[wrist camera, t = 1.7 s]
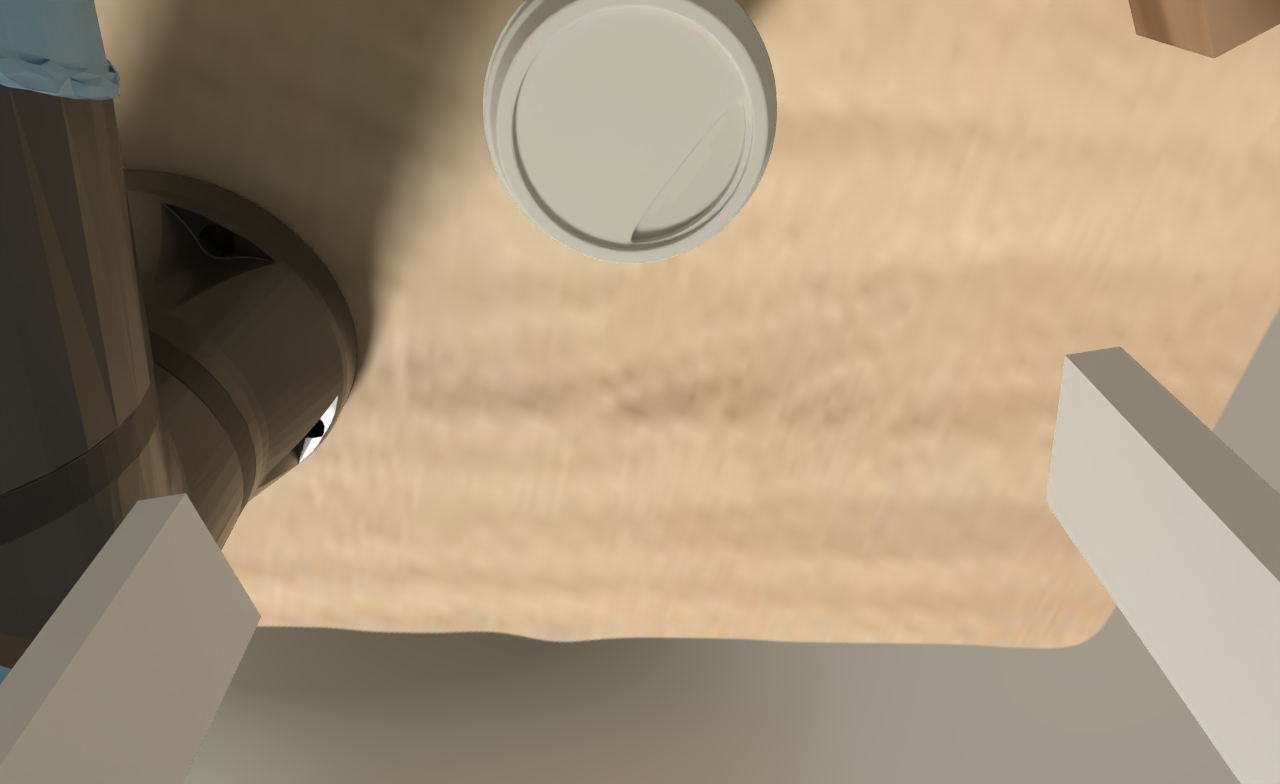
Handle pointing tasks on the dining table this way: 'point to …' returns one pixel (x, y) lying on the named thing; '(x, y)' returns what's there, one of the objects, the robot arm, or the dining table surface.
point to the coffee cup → (630, 121)
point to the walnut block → (1204, 22)
